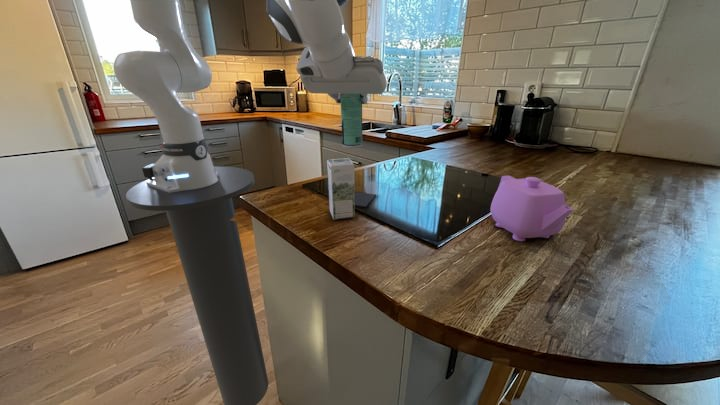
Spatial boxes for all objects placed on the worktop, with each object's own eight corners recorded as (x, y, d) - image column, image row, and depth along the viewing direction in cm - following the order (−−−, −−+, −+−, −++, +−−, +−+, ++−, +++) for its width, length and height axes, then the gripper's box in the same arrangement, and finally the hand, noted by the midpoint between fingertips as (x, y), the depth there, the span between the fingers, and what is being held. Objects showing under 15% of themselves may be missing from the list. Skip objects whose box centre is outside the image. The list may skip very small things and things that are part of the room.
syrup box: (350, 208, 81) (348, 156, 75) (355, 218, 76) (354, 163, 70) (329, 211, 80) (326, 158, 74) (333, 221, 74) (330, 165, 68)
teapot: (474, 214, 77) (482, 167, 72) (516, 210, 79) (527, 164, 74) (529, 258, 59) (545, 199, 54) (582, 250, 61) (602, 193, 56)
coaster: (336, 203, 84) (336, 202, 84) (348, 192, 92) (348, 191, 92) (365, 208, 81) (365, 206, 81) (375, 196, 89) (375, 194, 89)
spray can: (364, 144, 82) (364, 64, 74) (358, 149, 77) (357, 64, 69) (346, 143, 83) (343, 65, 75) (339, 147, 78) (335, 64, 71)
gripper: (383, 44, 62) (394, 92, 74) (298, 48, 68) (320, 91, 80) (377, 68, 59) (388, 113, 72) (289, 69, 66) (313, 110, 78)
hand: (352, 101), depth 76 cm, fingers closed on spray can, 5 cm apart
